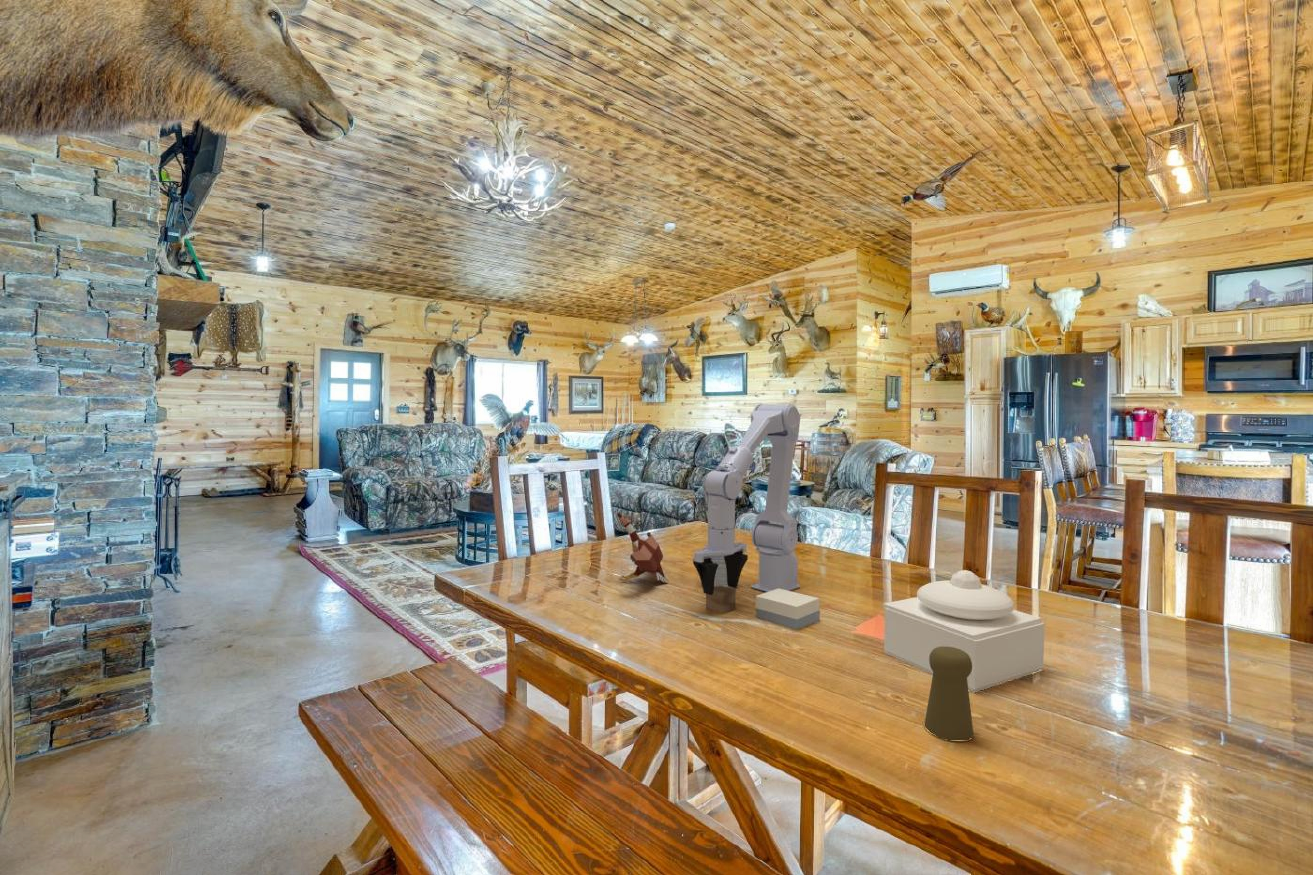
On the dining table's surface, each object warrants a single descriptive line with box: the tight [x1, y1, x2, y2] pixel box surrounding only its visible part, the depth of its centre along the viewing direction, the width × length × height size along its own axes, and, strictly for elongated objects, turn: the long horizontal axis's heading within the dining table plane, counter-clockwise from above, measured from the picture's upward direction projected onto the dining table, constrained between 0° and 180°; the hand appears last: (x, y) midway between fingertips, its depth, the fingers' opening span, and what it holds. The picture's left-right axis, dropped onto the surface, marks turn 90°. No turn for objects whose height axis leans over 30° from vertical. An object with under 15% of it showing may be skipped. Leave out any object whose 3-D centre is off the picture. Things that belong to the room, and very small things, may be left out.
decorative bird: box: [616, 511, 669, 585], centre depth 153 cm, size 28×18×15 cm, turn 172°
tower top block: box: [755, 588, 820, 619], centre depth 127 cm, size 8×10×2 cm
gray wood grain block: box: [711, 556, 734, 589], centre depth 150 cm, size 8×4×9 cm, turn 84°
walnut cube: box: [705, 585, 737, 615], centre depth 133 cm, size 4×4×4 cm
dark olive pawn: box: [924, 646, 975, 740], centre depth 83 cm, size 6×6×11 cm
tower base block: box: [755, 607, 821, 631], centre depth 127 cm, size 8×10×2 cm
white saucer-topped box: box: [882, 569, 1046, 693], centre depth 106 cm, size 18×18×16 cm
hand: (720, 590), depth 132 cm, fingers open, 7 cm apart
